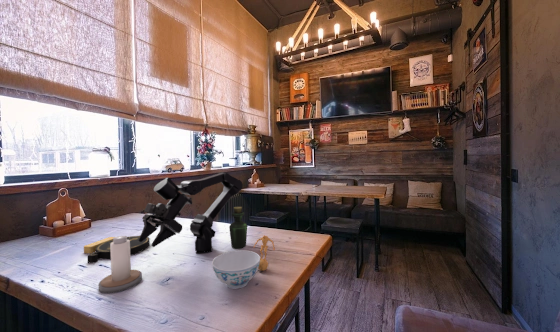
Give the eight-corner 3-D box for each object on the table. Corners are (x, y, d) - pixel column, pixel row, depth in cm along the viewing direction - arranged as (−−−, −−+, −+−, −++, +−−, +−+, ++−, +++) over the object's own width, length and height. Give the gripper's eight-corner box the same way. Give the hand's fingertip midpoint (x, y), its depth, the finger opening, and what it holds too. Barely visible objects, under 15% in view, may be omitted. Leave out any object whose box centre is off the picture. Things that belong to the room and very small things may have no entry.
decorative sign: (123, 231, 122) (165, 233, 117) (124, 238, 122) (165, 240, 117) (61, 253, 93) (113, 257, 88) (62, 261, 94) (113, 266, 89)
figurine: (249, 271, 81) (248, 237, 81) (257, 263, 87) (256, 232, 87) (271, 274, 78) (270, 239, 78) (277, 266, 84) (277, 234, 84)
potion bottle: (250, 247, 104) (250, 207, 104) (234, 251, 99) (233, 210, 99) (243, 242, 111) (242, 205, 110) (227, 246, 106) (226, 207, 106)
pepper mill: (134, 274, 77) (133, 235, 76) (120, 282, 72) (118, 240, 71) (122, 272, 78) (121, 234, 78) (107, 280, 73) (105, 239, 73)
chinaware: (220, 272, 81) (220, 250, 81) (263, 271, 81) (262, 250, 80) (205, 297, 66) (204, 270, 66) (257, 297, 66) (256, 270, 65)
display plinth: (146, 272, 82) (146, 267, 82) (134, 289, 71) (134, 283, 71) (109, 277, 79) (108, 271, 79) (90, 296, 68) (90, 289, 68)
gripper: (146, 193, 90) (115, 228, 82) (173, 196, 80) (140, 236, 71) (166, 209, 97) (139, 243, 88) (193, 214, 87) (166, 253, 78)
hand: (145, 243), depth 81 cm, fingers open, 9 cm apart
